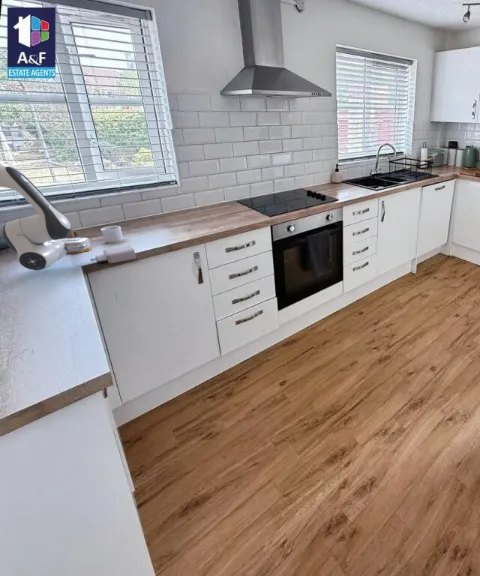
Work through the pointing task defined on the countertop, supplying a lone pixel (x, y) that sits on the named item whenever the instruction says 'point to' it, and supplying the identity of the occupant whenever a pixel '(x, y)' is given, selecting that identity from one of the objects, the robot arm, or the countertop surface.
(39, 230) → the robot arm
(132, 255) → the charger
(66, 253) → the stand
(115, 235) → the cup
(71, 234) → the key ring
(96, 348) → the countertop surface
